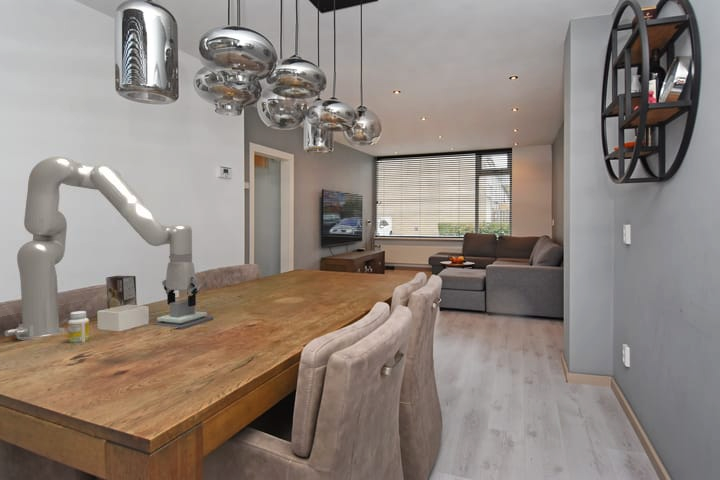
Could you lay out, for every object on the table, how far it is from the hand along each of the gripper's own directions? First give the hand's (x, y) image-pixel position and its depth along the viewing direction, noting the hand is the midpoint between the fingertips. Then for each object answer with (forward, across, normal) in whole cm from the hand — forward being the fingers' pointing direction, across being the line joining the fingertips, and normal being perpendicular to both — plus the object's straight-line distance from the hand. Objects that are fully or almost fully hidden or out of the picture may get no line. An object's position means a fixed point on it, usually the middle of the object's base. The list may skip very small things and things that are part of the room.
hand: (181, 305), depth 151 cm
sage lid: (+6, 0, 0) cm, 6 cm away
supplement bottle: (+7, -11, -31) cm, 33 cm away
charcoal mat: (+7, 0, 0) cm, 7 cm away
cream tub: (+7, -14, -13) cm, 20 cm away
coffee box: (+7, -32, +1) cm, 33 cm away
